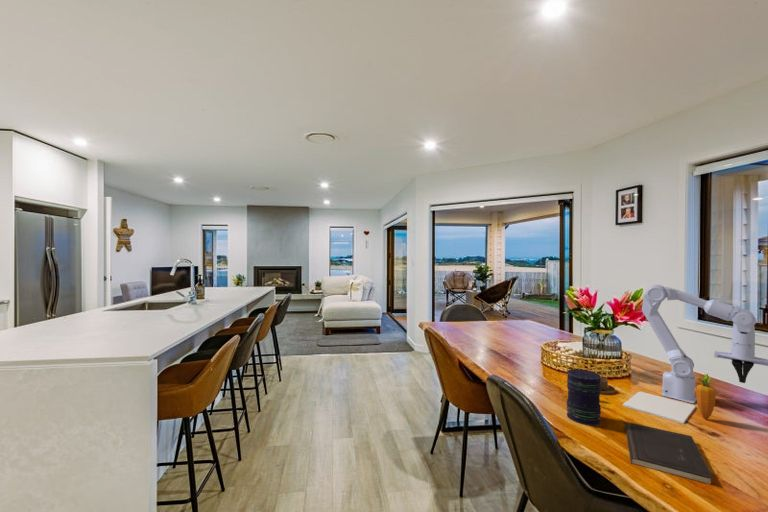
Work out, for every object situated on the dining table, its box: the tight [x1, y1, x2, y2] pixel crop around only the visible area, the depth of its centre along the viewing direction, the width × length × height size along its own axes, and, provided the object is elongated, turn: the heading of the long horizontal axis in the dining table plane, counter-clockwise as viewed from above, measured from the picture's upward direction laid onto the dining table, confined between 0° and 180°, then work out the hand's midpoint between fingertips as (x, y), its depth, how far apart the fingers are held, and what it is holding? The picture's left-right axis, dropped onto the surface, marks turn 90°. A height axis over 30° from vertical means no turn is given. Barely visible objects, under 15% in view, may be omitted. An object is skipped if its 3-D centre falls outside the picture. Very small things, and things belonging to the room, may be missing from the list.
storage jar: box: [566, 362, 602, 426], centre depth 116 cm, size 10×10×18 cm
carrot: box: [695, 373, 717, 421], centre depth 116 cm, size 5×5×15 cm
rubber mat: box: [622, 391, 697, 425], centre depth 126 cm, size 17×20×1 cm
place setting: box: [600, 376, 616, 400], centre depth 141 cm, size 18×20×6 cm
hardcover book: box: [624, 421, 714, 485], centre depth 96 cm, size 16×23×2 cm
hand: (742, 382), depth 123 cm, fingers closed
